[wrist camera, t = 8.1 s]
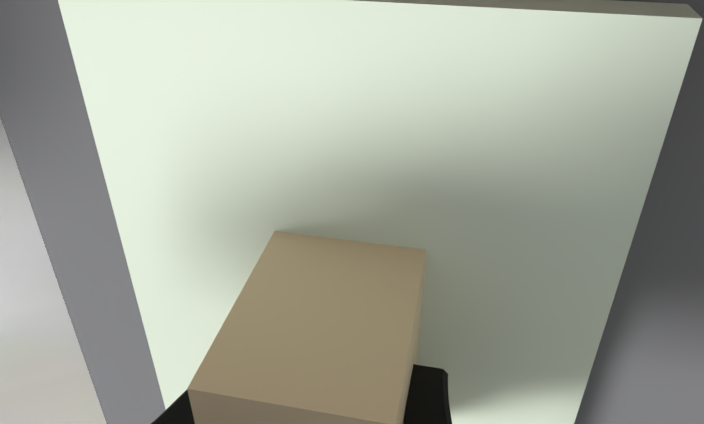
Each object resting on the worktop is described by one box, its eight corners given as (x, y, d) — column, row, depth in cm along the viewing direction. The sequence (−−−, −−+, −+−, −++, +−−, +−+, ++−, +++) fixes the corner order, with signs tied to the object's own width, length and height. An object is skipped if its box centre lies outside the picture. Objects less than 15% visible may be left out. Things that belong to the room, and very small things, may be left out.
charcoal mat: (114, 424, 21) (109, 431, 21) (-55, -76, 12) (-66, -74, 12) (659, 528, 18) (661, 538, 18) (951, -42, 9) (964, -39, 9)
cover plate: (195, 457, 18) (111, 631, 14) (81, -25, 11) (-167, 65, 7) (532, 522, 17) (541, 741, 13) (686, 4, 9) (836, 148, 5)
